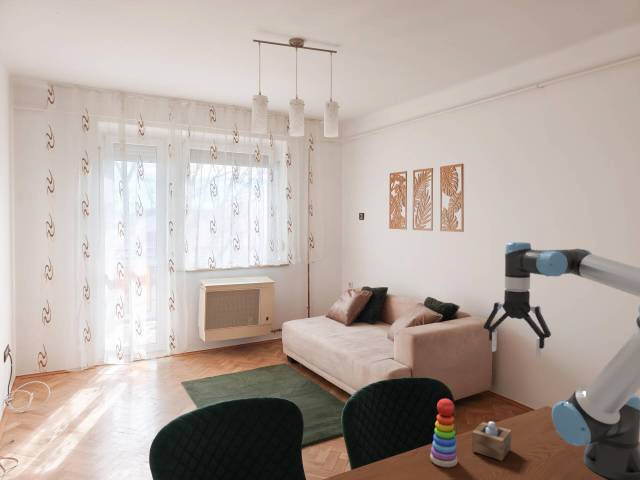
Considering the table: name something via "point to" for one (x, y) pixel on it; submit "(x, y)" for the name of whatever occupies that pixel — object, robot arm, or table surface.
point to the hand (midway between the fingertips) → (515, 354)
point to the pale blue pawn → (492, 429)
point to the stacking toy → (444, 436)
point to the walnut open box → (491, 442)
